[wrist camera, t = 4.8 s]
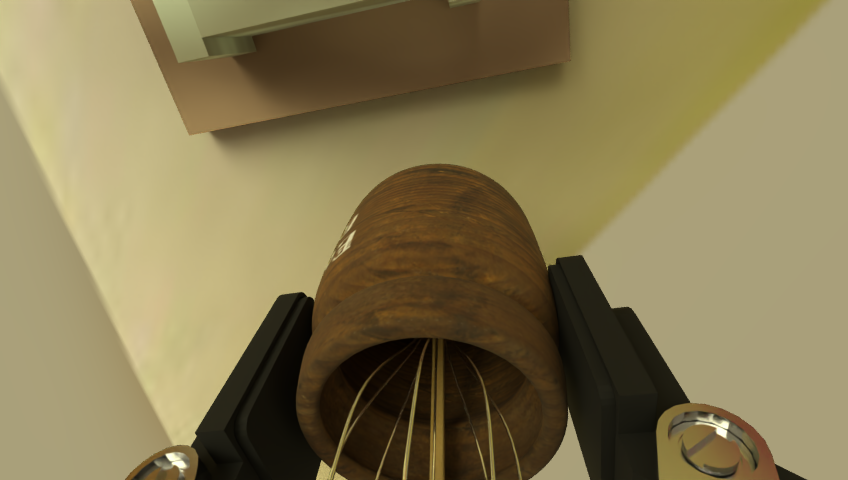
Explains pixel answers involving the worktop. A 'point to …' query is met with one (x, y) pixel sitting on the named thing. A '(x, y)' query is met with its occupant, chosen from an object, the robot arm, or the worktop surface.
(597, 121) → the worktop surface
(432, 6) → the collar stand
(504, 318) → the utensil holder
